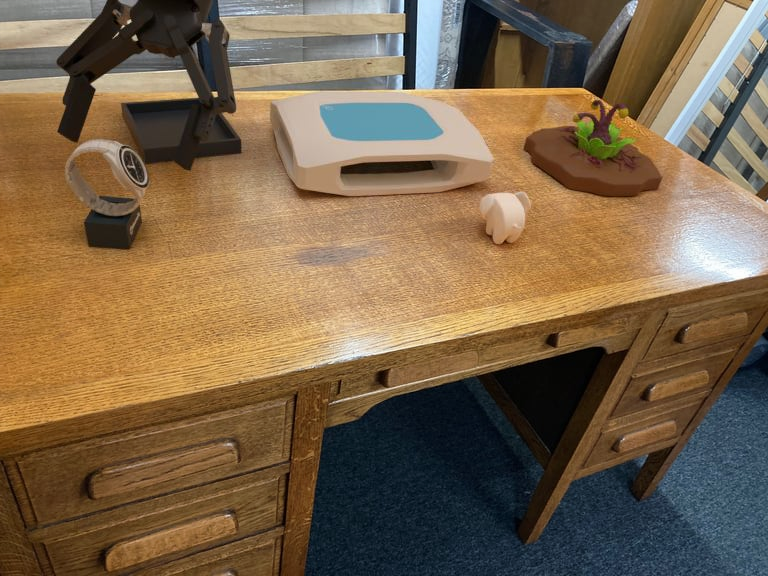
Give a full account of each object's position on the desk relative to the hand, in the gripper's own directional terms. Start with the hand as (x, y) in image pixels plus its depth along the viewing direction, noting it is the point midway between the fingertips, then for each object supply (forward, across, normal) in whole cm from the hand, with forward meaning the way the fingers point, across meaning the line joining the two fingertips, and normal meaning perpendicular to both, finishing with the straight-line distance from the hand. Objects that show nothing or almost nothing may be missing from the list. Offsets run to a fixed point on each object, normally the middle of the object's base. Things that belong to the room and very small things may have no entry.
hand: (124, 152), depth 67 cm
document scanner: (-14, -22, -27) cm, 38 cm away
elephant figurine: (-5, -42, -18) cm, 46 cm away
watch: (+8, 0, -4) cm, 9 cm away
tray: (-10, +6, -22) cm, 25 cm away
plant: (-25, -54, -38) cm, 71 cm away
